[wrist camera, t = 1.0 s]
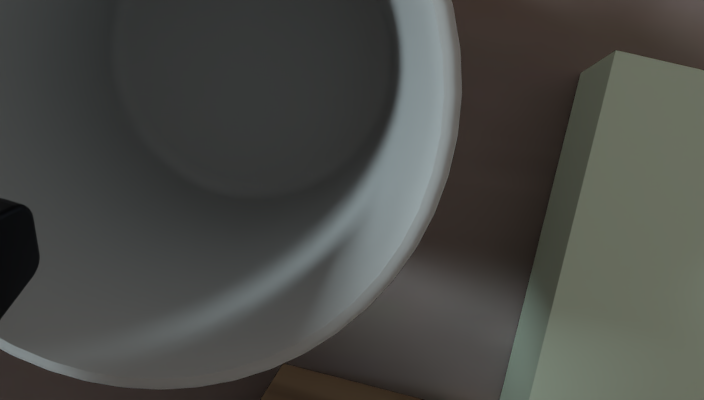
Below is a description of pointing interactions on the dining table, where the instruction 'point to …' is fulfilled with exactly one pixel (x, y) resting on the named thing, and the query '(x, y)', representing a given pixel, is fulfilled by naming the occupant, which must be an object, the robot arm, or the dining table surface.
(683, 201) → the base slab
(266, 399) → the walnut cube
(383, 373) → the dining table surface
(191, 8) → the mug
